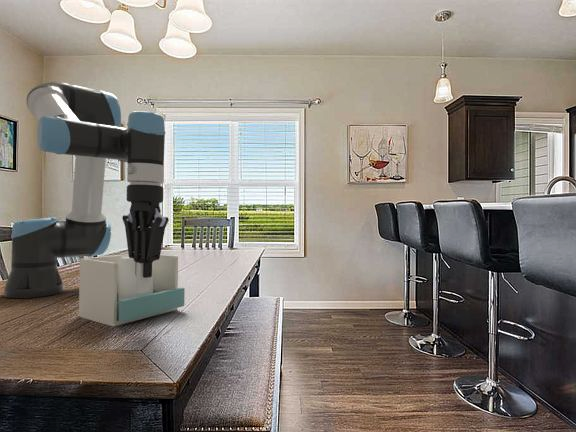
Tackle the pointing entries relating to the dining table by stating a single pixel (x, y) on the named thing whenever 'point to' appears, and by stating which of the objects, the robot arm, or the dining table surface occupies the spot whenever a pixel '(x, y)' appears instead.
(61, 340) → the dining table surface
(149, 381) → the dining table surface
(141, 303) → the teal drawer
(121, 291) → the beverage can
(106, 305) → the white drawer cabinet
